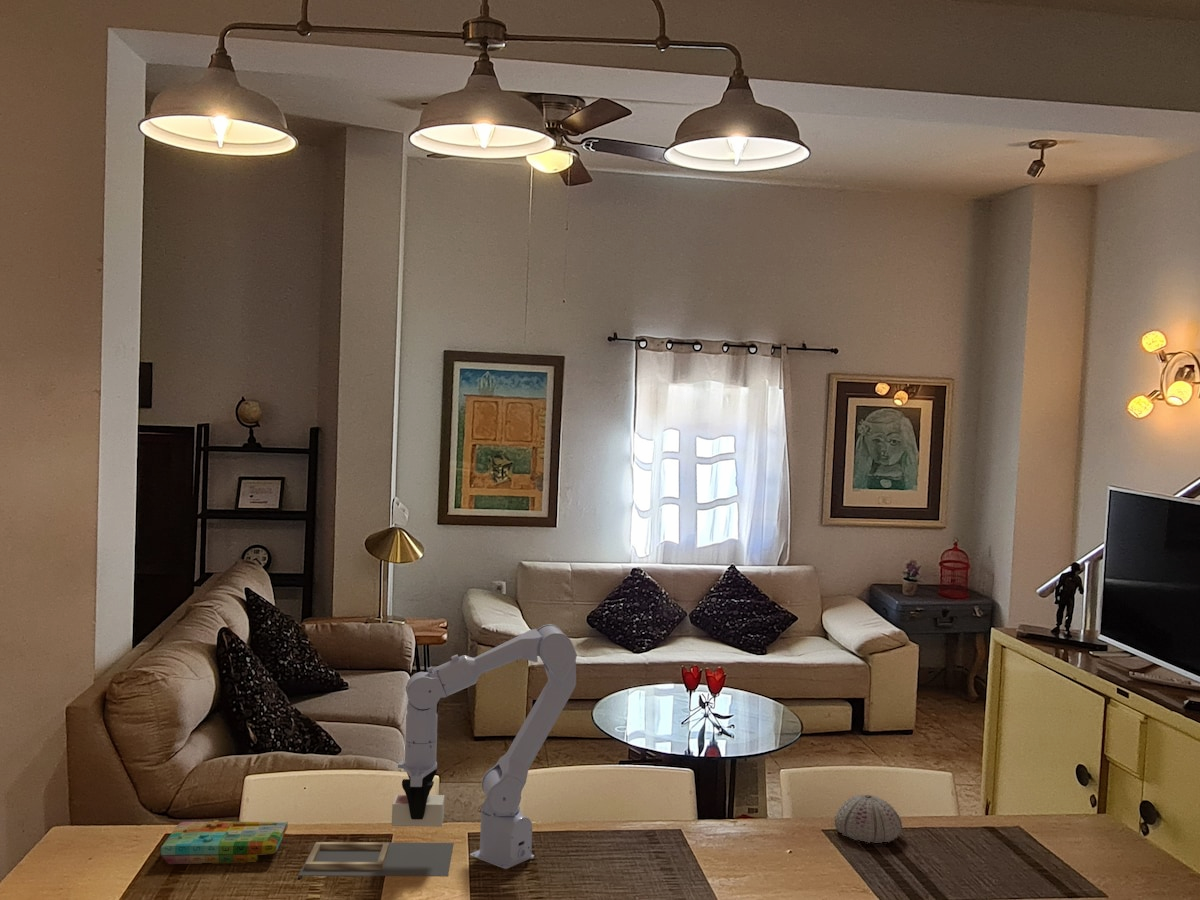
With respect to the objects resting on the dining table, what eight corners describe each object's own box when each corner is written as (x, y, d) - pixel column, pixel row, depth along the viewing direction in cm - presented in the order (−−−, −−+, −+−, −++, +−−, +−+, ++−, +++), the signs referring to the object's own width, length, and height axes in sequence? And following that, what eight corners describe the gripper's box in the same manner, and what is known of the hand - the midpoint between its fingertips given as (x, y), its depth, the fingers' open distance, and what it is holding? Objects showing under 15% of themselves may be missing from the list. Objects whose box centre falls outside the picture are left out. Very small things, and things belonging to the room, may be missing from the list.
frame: (389, 847, 198) (389, 842, 198) (381, 869, 188) (381, 864, 188) (316, 847, 197) (316, 841, 197) (304, 869, 187) (305, 863, 187)
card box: (443, 816, 196) (444, 794, 196) (441, 826, 191) (442, 804, 191) (395, 816, 196) (395, 794, 196) (391, 826, 191) (392, 803, 191)
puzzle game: (179, 818, 199) (287, 817, 202) (178, 842, 199) (287, 841, 202) (160, 842, 188) (276, 841, 190) (160, 868, 188) (275, 867, 190)
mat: (453, 845, 202) (453, 842, 202) (447, 878, 187) (447, 875, 187) (315, 844, 200) (315, 842, 200) (298, 878, 185) (298, 875, 185)
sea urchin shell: (875, 854, 205) (877, 813, 205) (819, 832, 215) (821, 793, 215) (914, 838, 213) (916, 799, 213) (859, 818, 224) (860, 781, 223)
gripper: (403, 727, 200) (401, 799, 201) (394, 751, 186) (391, 827, 186) (441, 728, 201) (438, 799, 201) (434, 751, 186) (432, 828, 187)
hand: (418, 813), depth 194 cm, fingers closed on card box, 5 cm apart
